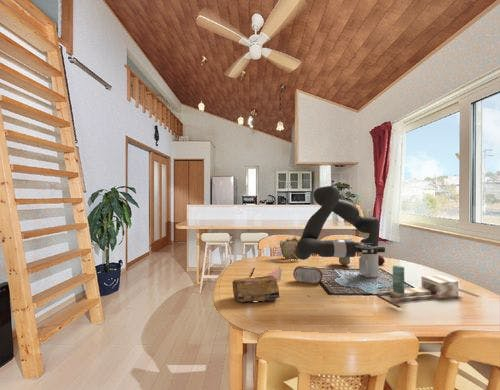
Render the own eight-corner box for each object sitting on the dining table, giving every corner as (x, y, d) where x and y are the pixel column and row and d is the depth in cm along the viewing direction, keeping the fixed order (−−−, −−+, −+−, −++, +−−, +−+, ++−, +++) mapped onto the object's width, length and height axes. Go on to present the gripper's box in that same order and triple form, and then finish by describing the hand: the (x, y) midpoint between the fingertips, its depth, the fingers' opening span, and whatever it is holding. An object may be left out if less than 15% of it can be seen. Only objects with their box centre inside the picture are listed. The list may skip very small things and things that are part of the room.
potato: (372, 262, 183) (372, 253, 183) (385, 264, 178) (385, 255, 178) (369, 264, 178) (369, 255, 178) (383, 266, 172) (383, 257, 172)
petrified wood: (236, 306, 108) (235, 280, 110) (231, 301, 120) (230, 278, 122) (281, 300, 113) (279, 275, 115) (272, 296, 125) (270, 274, 127)
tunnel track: (398, 307, 107) (397, 287, 107) (376, 296, 120) (376, 278, 120) (481, 299, 115) (480, 281, 115) (452, 289, 128) (452, 273, 128)
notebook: (280, 282, 141) (280, 279, 141) (249, 281, 143) (249, 277, 143) (281, 269, 168) (281, 266, 168) (255, 268, 170) (255, 265, 170)
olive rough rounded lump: (306, 235, 185) (300, 235, 200) (281, 236, 184) (277, 237, 199) (308, 261, 182) (302, 259, 197) (283, 263, 181) (279, 261, 196)
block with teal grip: (398, 299, 112) (398, 268, 112) (390, 295, 116) (389, 265, 117) (431, 297, 114) (430, 266, 115) (421, 292, 119) (421, 264, 120)
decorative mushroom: (331, 266, 172) (330, 243, 173) (337, 262, 184) (337, 240, 184) (352, 269, 165) (352, 245, 165) (357, 264, 176) (357, 242, 176)
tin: (322, 283, 138) (322, 267, 138) (322, 285, 135) (322, 268, 135) (293, 280, 143) (293, 264, 143) (292, 282, 140) (292, 266, 140)
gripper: (348, 242, 107) (388, 241, 107) (336, 237, 121) (371, 236, 121) (349, 261, 107) (388, 260, 107) (336, 253, 121) (371, 252, 121)
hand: (379, 247), depth 114 cm, fingers open, 8 cm apart
